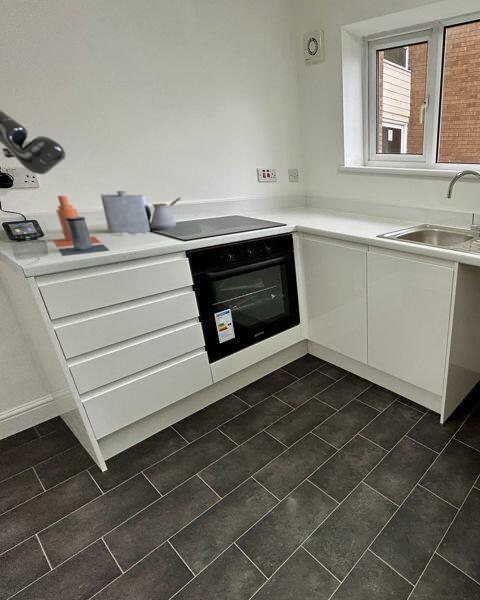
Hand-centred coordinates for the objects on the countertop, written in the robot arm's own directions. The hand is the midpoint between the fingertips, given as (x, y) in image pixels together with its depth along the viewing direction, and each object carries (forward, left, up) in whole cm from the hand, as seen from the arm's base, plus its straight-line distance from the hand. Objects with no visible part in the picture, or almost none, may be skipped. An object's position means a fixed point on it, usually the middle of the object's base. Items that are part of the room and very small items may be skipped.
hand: (33, 153), depth 119 cm
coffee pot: (+47, +42, -36) cm, 73 cm away
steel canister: (+6, +6, -35) cm, 36 cm away
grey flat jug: (+30, +47, -36) cm, 66 cm away
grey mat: (+6, +6, -36) cm, 37 cm away
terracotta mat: (+6, +25, -36) cm, 44 cm away
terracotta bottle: (+6, +30, -35) cm, 47 cm away
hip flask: (+28, +38, -36) cm, 59 cm away
